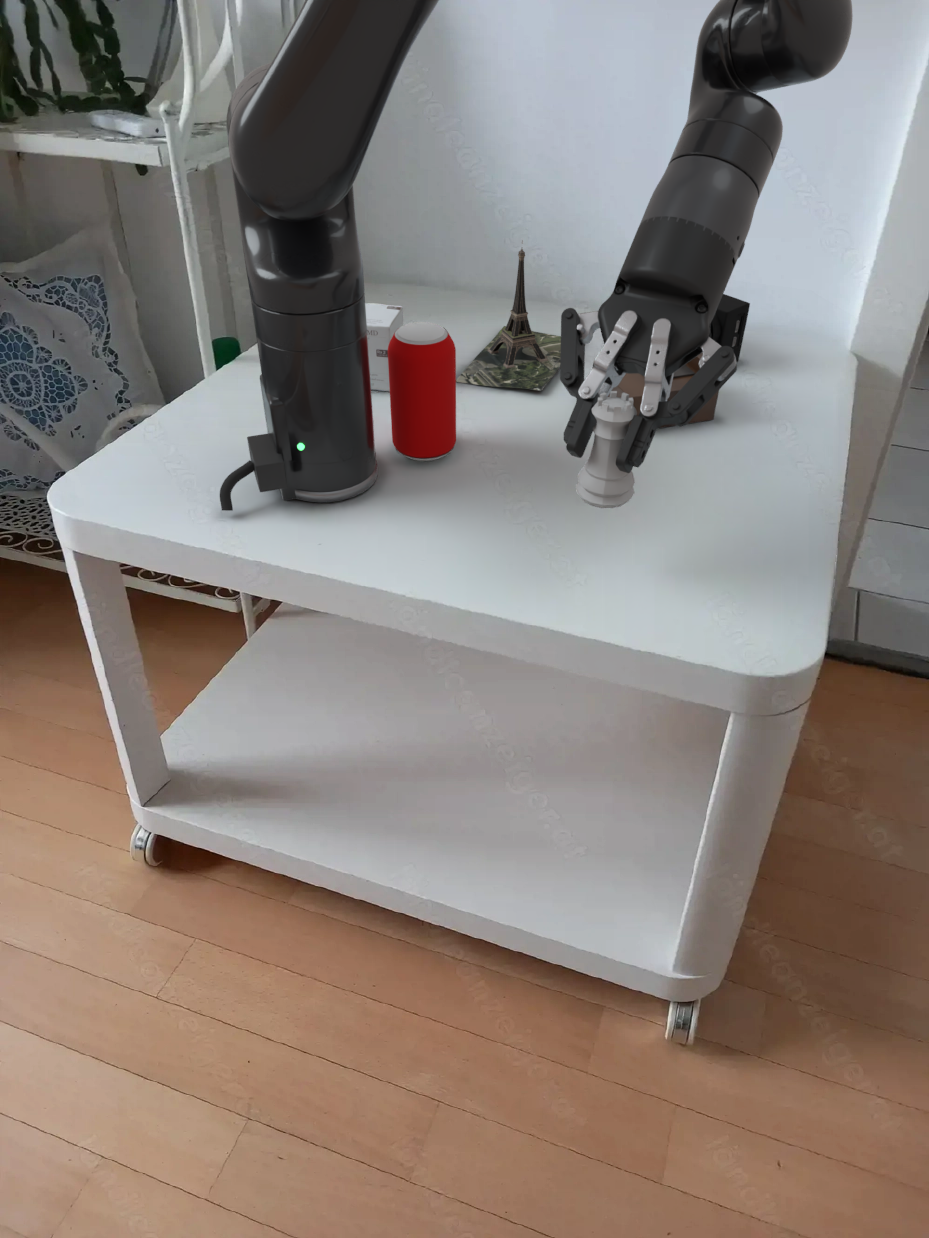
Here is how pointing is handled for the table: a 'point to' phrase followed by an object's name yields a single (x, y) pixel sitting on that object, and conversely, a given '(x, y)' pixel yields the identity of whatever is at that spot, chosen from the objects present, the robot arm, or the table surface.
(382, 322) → the product carton
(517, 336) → the eiffel tower figurine
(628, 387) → the wooden stepped block
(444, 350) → the beverage can
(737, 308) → the digital camera
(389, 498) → the table surface
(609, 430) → the rook chess piece
